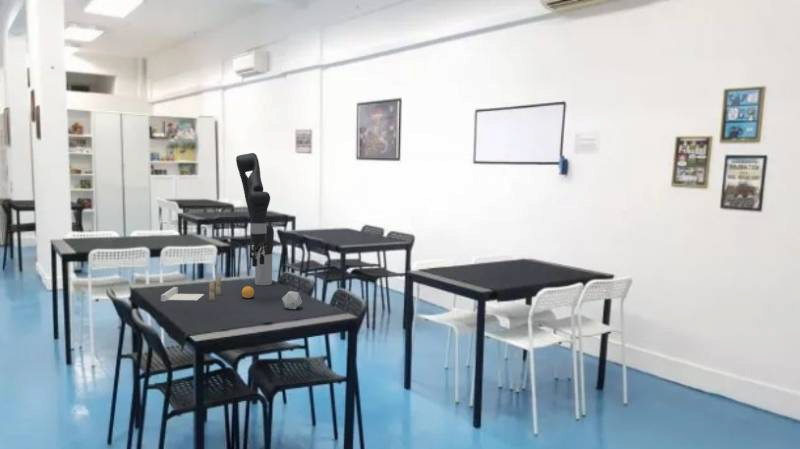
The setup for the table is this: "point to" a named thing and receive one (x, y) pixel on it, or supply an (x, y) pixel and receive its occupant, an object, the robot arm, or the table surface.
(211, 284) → the post
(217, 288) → the post
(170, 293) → the stopper wall
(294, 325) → the table surface
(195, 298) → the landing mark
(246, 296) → the ball
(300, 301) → the die
